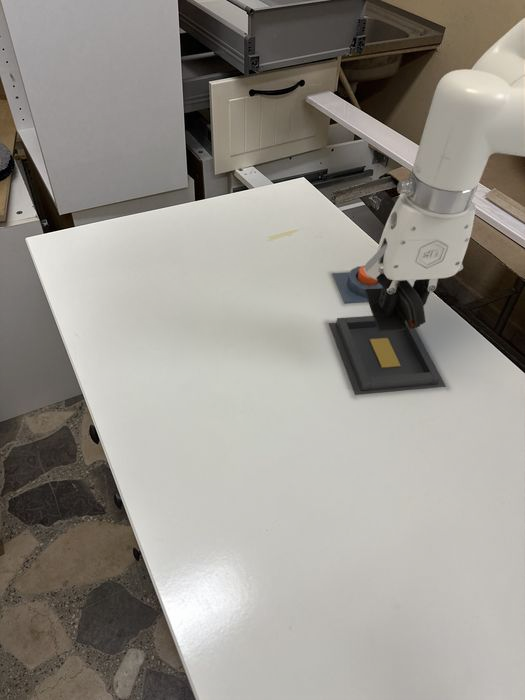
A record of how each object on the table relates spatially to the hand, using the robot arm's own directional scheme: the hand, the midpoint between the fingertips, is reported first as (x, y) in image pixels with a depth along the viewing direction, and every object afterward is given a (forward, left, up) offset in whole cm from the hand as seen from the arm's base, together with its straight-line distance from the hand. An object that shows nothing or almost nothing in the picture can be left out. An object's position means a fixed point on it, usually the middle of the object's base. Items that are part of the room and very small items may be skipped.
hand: (400, 307), depth 74 cm
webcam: (+1, 0, -1) cm, 1 cm away
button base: (-2, -16, -10) cm, 19 cm away
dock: (0, 0, -10) cm, 10 cm away
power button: (-2, -16, -8) cm, 18 cm away
